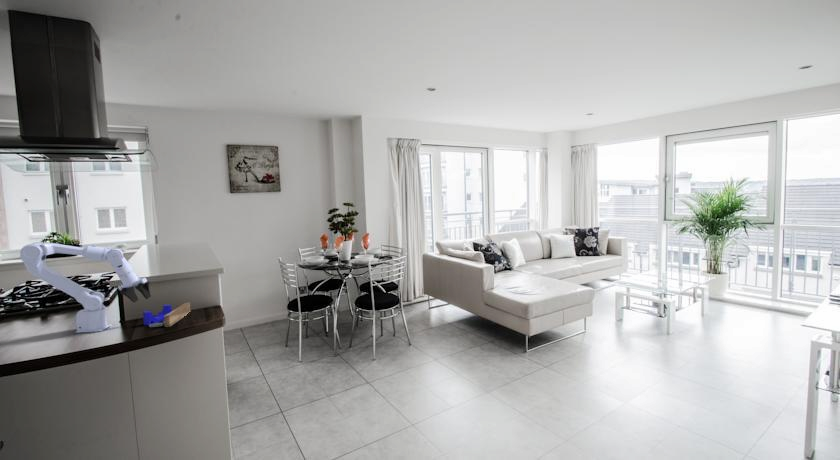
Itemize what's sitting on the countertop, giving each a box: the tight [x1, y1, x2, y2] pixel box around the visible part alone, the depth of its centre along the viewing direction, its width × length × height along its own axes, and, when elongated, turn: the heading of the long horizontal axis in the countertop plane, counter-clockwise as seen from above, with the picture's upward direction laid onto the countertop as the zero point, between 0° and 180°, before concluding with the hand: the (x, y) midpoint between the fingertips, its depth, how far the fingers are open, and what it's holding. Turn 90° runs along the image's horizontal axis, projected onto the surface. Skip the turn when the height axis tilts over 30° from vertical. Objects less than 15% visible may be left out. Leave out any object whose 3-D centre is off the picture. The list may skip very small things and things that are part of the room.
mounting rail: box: [148, 320, 165, 328], centre depth 176 cm, size 7×18×2 cm, turn 9°
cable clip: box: [142, 304, 173, 326], centre depth 175 cm, size 12×4×6 cm, turn 169°
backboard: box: [164, 302, 192, 328], centre depth 177 cm, size 2×21×5 cm, turn 9°
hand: (142, 299), depth 173 cm, fingers open, 7 cm apart
